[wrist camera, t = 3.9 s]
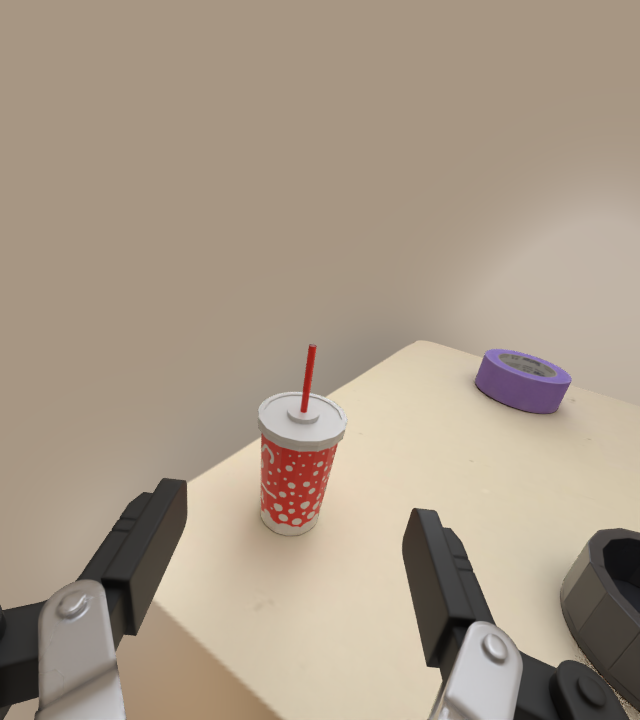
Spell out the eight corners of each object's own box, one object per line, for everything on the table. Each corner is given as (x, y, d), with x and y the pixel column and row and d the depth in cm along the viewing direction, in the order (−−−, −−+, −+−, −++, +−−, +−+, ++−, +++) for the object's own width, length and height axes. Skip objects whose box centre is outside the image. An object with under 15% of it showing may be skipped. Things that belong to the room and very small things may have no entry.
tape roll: (566, 400, 54) (580, 371, 52) (544, 423, 46) (560, 390, 44) (491, 370, 62) (501, 344, 60) (461, 385, 54) (471, 356, 52)
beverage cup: (257, 478, 30) (271, 324, 24) (328, 486, 30) (357, 335, 25) (242, 540, 24) (254, 358, 19) (328, 550, 25) (366, 373, 19)
